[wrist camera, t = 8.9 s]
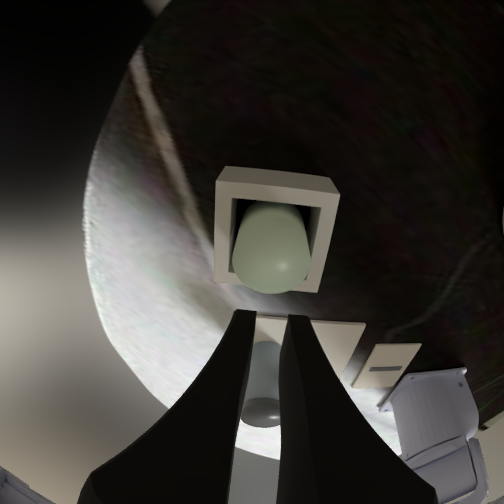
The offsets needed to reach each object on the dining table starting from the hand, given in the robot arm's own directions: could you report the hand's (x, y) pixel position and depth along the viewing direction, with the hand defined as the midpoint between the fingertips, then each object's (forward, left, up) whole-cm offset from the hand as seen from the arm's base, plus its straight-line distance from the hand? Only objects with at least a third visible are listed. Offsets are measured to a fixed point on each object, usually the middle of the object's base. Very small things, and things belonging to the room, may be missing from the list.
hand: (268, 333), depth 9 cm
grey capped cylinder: (-1, +12, -9) cm, 15 cm away
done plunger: (0, 0, -8) cm, 8 cm away
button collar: (0, 0, -9) cm, 9 cm away
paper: (-4, +12, -9) cm, 16 cm away
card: (-13, +14, -9) cm, 21 cm away
